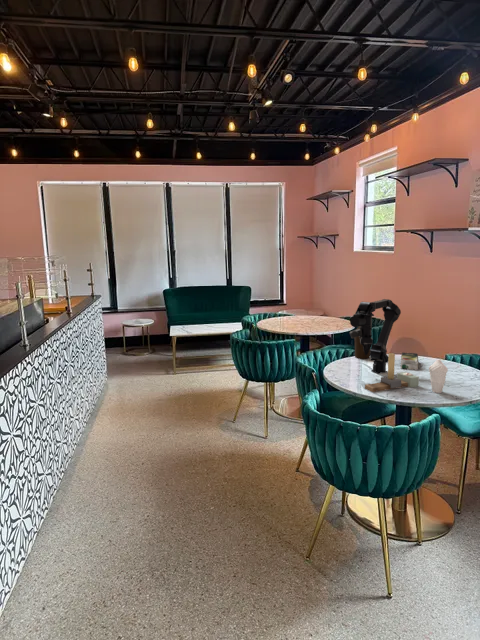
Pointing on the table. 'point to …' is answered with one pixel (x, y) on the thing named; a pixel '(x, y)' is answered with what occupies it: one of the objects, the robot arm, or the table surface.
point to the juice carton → (409, 361)
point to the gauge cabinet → (409, 379)
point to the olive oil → (360, 349)
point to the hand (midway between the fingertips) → (365, 353)
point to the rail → (382, 386)
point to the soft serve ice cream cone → (437, 376)
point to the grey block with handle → (391, 373)
